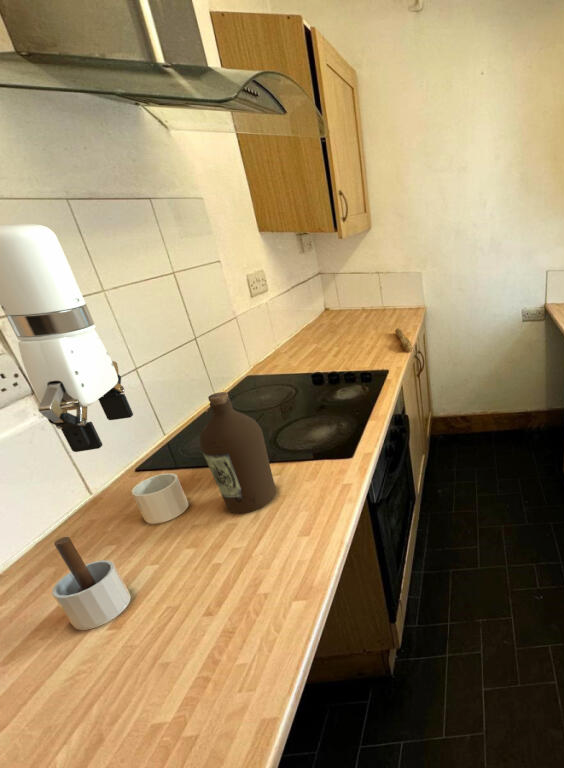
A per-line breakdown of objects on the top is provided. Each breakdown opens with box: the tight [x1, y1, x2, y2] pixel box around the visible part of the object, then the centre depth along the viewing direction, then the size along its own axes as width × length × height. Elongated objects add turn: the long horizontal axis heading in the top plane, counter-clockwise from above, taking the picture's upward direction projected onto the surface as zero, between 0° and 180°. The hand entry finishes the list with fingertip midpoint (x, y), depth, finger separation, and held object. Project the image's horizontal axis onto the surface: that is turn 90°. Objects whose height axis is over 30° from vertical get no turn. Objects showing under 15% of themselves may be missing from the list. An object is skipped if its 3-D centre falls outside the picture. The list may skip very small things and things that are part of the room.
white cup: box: [131, 472, 189, 525], centre depth 85 cm, size 7×7×7 cm
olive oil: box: [199, 391, 277, 514], centre depth 85 cm, size 11×11×25 cm
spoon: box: [53, 536, 96, 593], centre depth 63 cm, size 4×2×14 cm, turn 110°
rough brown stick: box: [394, 327, 413, 353], centre depth 188 cm, size 3×3×30 cm
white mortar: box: [51, 559, 132, 631], centre depth 64 cm, size 7×7×7 cm
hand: (105, 432), depth 63 cm, fingers open, 9 cm apart
